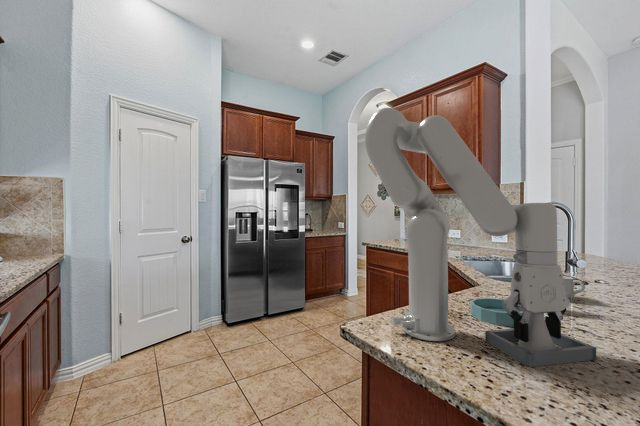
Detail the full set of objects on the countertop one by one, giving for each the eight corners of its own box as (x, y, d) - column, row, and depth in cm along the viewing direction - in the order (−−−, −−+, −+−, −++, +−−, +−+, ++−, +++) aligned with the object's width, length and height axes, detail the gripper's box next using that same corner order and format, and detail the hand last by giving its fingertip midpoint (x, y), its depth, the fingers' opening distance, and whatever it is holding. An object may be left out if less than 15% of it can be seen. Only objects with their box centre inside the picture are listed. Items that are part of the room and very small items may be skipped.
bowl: (496, 328, 78) (495, 314, 78) (460, 310, 92) (460, 299, 92) (543, 324, 80) (542, 311, 80) (501, 307, 95) (501, 296, 95)
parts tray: (529, 367, 58) (529, 354, 58) (485, 341, 70) (485, 330, 70) (596, 359, 61) (596, 347, 61) (542, 336, 73) (542, 326, 73)
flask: (565, 359, 61) (565, 311, 61) (526, 356, 62) (526, 309, 63) (546, 344, 68) (546, 301, 68) (511, 342, 70) (511, 299, 70)
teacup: (528, 295, 109) (528, 273, 109) (549, 292, 113) (549, 271, 113) (570, 306, 96) (570, 281, 96) (593, 303, 99) (592, 279, 99)
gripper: (515, 262, 60) (517, 349, 60) (586, 259, 63) (587, 341, 63) (488, 257, 68) (490, 334, 67) (552, 255, 71) (554, 328, 70)
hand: (537, 337), depth 65 cm, fingers open, 7 cm apart
